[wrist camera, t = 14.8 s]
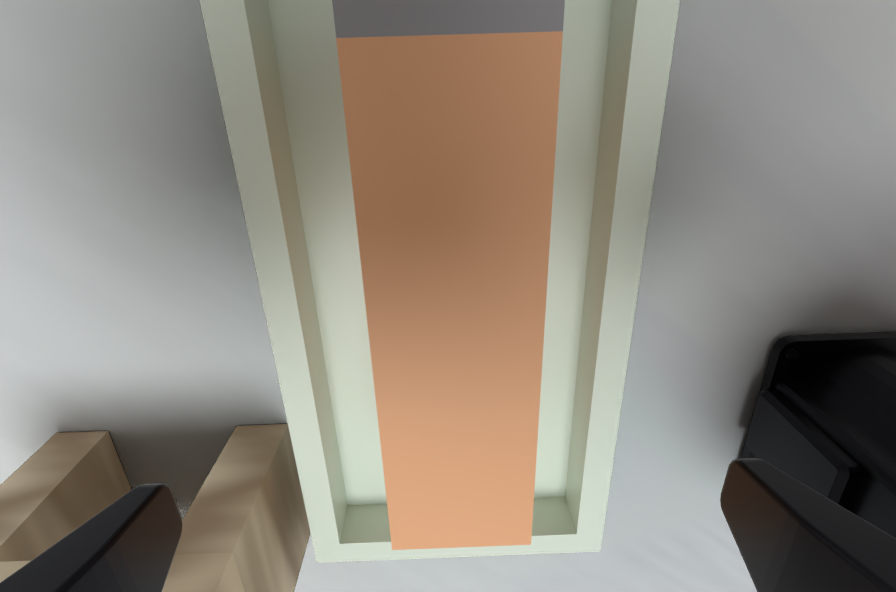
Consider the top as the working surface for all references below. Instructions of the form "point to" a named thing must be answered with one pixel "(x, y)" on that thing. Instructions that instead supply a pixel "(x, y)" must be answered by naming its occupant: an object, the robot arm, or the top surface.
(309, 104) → the tray
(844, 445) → the robot arm
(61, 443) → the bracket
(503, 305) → the orange rectangular block
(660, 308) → the top surface
